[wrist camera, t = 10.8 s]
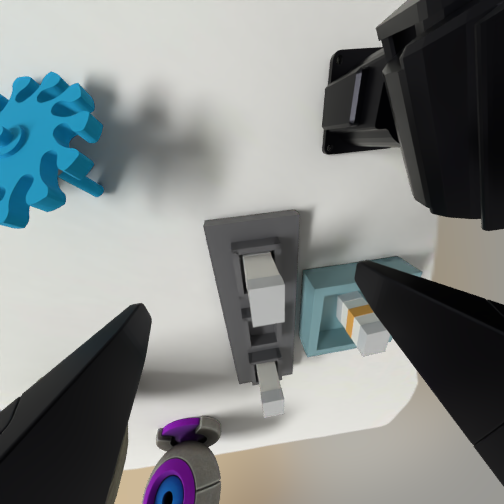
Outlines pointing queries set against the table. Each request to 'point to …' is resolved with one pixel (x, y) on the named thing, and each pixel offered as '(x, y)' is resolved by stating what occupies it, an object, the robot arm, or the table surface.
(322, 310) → the tray
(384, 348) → the marked fuse
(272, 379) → the block
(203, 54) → the table surface
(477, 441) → the robot arm
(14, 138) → the gear
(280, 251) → the fuse holder
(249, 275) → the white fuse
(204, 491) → the webcam
